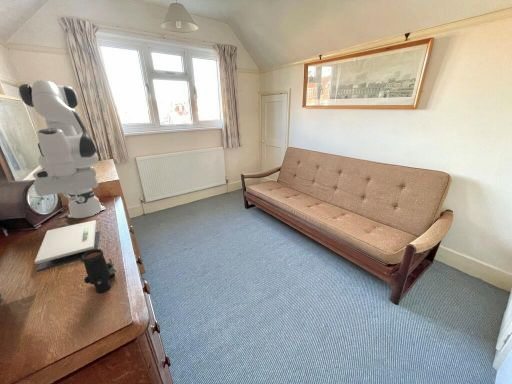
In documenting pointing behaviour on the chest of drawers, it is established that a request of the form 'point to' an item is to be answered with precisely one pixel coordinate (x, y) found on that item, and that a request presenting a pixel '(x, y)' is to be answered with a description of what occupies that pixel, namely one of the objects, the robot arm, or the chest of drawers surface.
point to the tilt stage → (67, 241)
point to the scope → (98, 270)
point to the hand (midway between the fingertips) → (73, 200)
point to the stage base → (67, 257)
